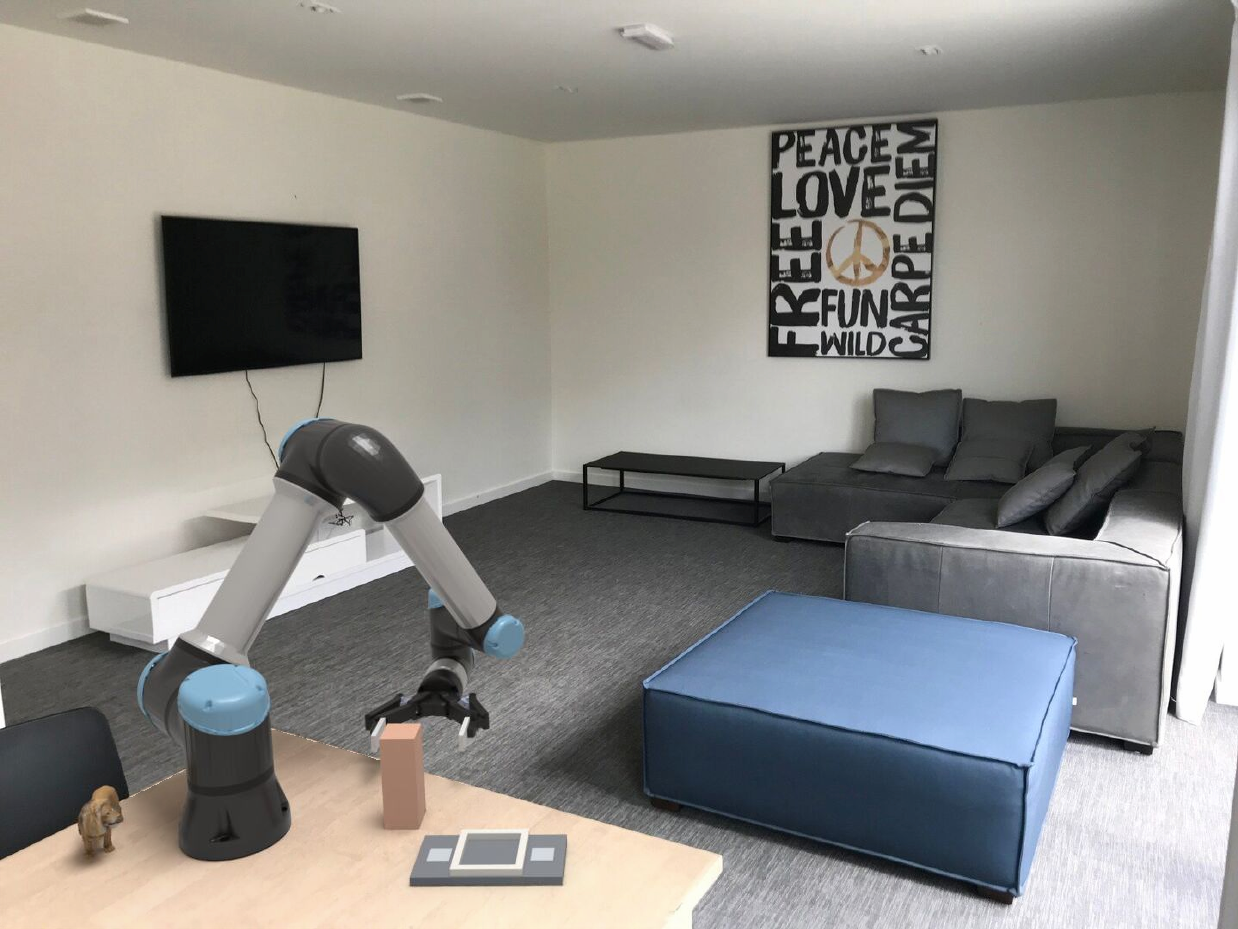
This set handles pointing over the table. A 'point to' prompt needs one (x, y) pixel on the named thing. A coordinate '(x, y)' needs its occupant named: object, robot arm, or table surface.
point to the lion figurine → (99, 819)
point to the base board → (490, 859)
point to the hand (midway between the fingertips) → (417, 744)
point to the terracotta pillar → (402, 776)
